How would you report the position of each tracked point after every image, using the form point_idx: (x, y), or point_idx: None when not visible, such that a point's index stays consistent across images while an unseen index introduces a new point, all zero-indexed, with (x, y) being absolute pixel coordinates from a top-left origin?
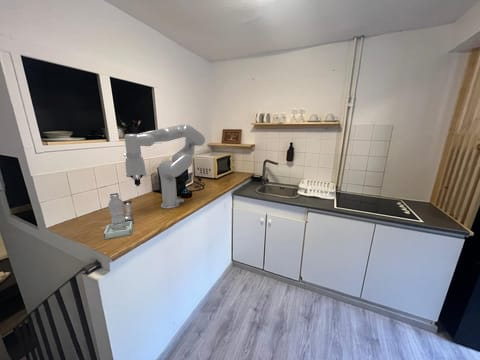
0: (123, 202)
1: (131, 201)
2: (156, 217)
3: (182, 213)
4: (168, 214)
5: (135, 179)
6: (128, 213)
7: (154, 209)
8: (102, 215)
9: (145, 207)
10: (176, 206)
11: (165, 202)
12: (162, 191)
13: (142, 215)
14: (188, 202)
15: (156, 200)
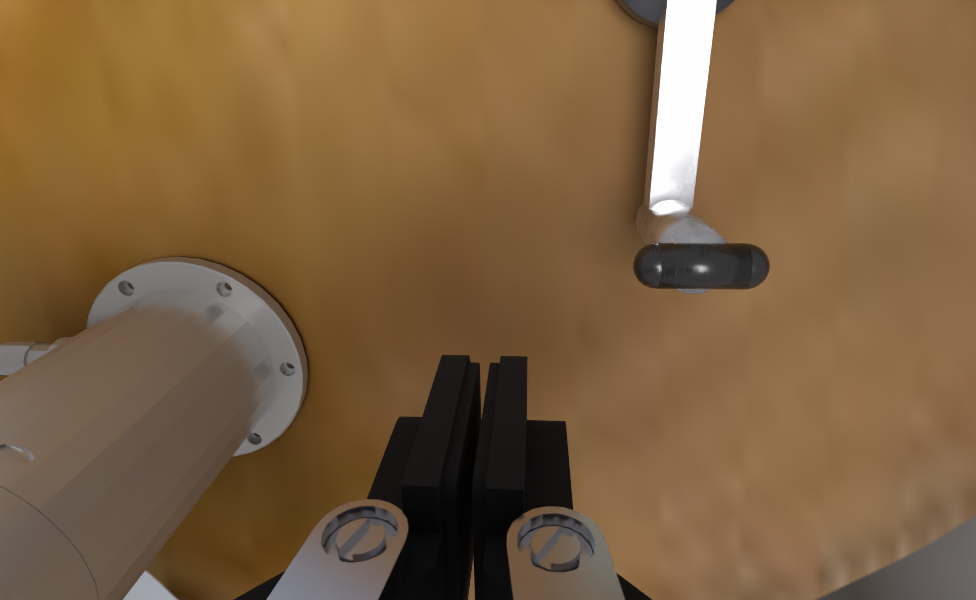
0: (766, 258)
1: (638, 262)
2: (332, 26)
3: (17, 29)
4: (193, 70)
5: (523, 517)
6: (673, 95)
7: (376, 309)
8: (935, 360)
9: None
10: (117, 276)
11: (212, 334)
12: (151, 459)
13: (504, 171)
14: None
15: None
